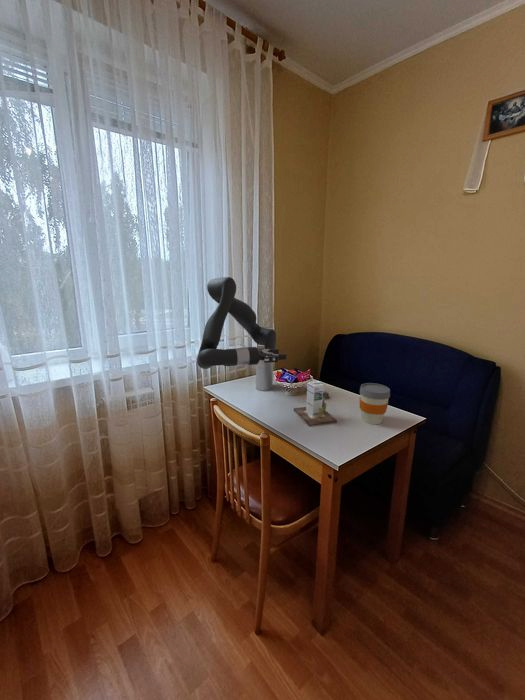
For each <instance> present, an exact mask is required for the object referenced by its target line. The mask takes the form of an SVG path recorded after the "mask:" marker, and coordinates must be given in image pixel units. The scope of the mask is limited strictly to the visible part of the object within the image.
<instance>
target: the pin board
mask: <svg viewBox="0 0 525 700" xmlns="http://www.w3.org/2000/svg"><path fill="white" fill-rule="evenodd" d="M326 409H327V403H326V402H325V403H324V411H323V415H322V408H319V415H318V416H314V417H312V416H310V415H309V414H308V413H307V412H306V406H303V407H301V406H299V407H294V408H293V411H294V413H295V414H296V415H298V417H299V418H300V419H302V420H303V422H304V423H305V424H307V425H308V427H315V426H316V427H317V426H322V425H329V424H336V423H337V422H338V420H337V418H335V417H334V416H333V415H332V414H331V413H330V412H328V411H327V410H326Z"/></svg>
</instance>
